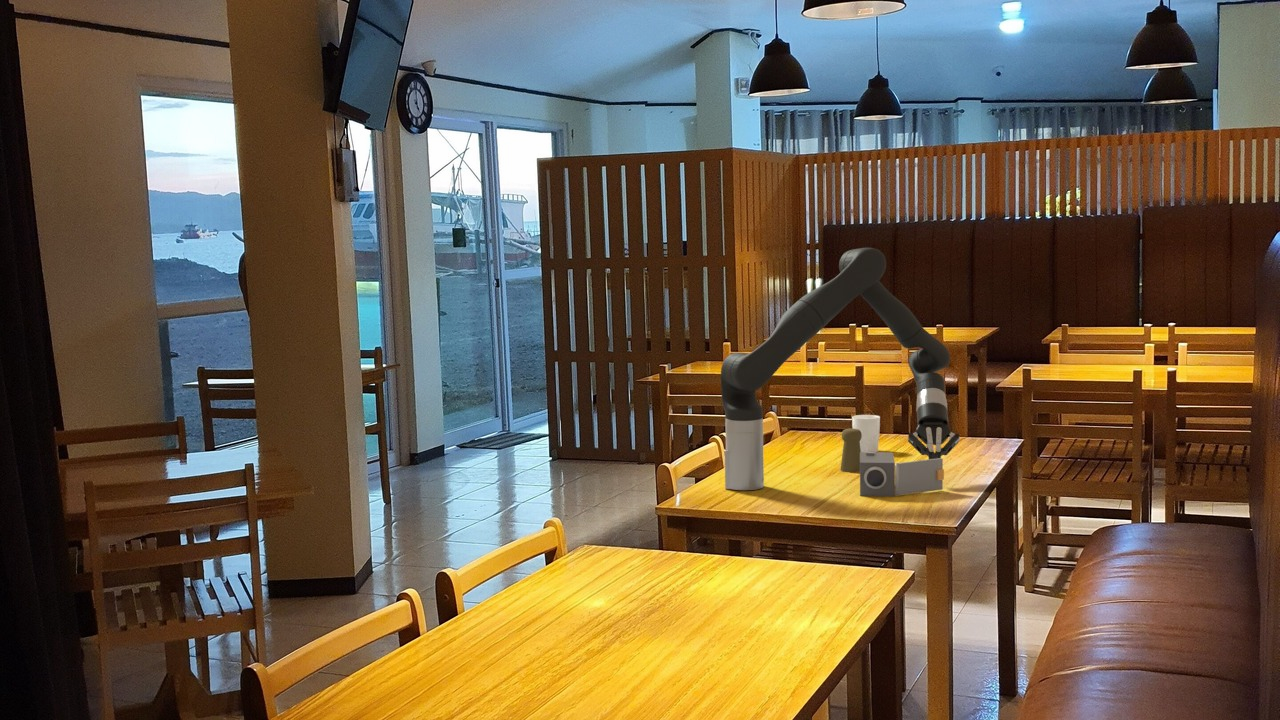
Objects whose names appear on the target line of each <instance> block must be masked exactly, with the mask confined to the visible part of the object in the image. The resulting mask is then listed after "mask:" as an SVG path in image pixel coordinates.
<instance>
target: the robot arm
mask: <svg viewBox="0 0 1280 720" xmlns="http://www.w3.org/2000/svg"><path fill="white" fill-rule="evenodd" d="M886 259H887V258H886V257H885V254H884V253H883V252H882V251H881V250H879V249H876V248H873V247H861V248H855V249H854V248H853V249H850V250H847V251H845V252H844V253H843V254H842V256H841V257H840V259H839V263H838V269H839V272H840V273H839V274H838V275H836V276H835V277H834V278H832V279H831V280H829V281H827V282H826V283H824V284H822V285H820V286H818V287H817V288H814V289H813V290H811V291H809V292H808V293H806V294H805V295H803V296H802V297H801V298H800V299H798V300H797V301H796V302H795V303H793V304H792V305H791V306H790V307H789V308H788V309H787V310H785V312H784V313H783V314H782V316H781V317H780V318H779V320H778V322H777V324H776V326H775V328H774V330H773V332H772V333H771V334H770V336H769V337H768V338H767V339H766V340H765V341H764V342H763V343H761V344H760V345H759V346H758V347H757V348H755V349H754V350H753V351H751V352H749V353H746V352H733V353H731V354H729V355H728V356H727V357H726V358H725V359H724V360H723V362H722V366H721V369H720V389H721V403H722V407H723V410H724V415H725V419H724V420H725V422H724V423H725V450H724V480H725V481H724V483H725V484H724V485H725V486H724V489H726V490H736V491H754V490H759V489H763V488H764V485H765V483H764V481H765V478H764V475H765V474H764V419H763V417H764V412H763V411H764V410H763V406H762V405H761V404H760V403H759V401H758V398H757V395H756V391H757V390H759V389H761V388H762V387H764V385H766V384H767V382H769V380H770V378H772V376H773V375H775V373H777V371H778V370H779V369H780V368H781V366H782V365H784V363H785V362H786V361H787V360H788V359H789V358H791V356H793V355H794V354H796V353H797V351H798V350H800V349H801V348H802V347H803V346H804V345H805V344H806V343H808V342H809V341H810V340H811V339H813V338H814V337H815V335H817V334H819V332H820V331H821V330H823V328H825V326H826V325H828V324H829V322H830V321H831V320H833V319H834V318H835V317H836V316H837V315H838V314H839V313H841V312H842V311H843V309H845V308H846V307H847V305H848V304H850V303H851V302H852V301H853V300H854V299H856V298H857V297H858V296H859V295H860V296H861V297H862V299H864V301H866V303H868V304H869V306H870V307H871V308H872V309H873V310H874V311H875V313H876V314H877V315H878V316H879V317H880V319H882V321H883V322H884V323H885V325H886V326H887V327H888V329H889V330H890V331H891V333H892V334H893V335H894V337H895V338H896V340H897V341H898V342H899V344H900V345H901V346H902V347H903V348H904V349H913V348H920V349H918V350H915V351H914V352H912V353H911V354H910V356H909V358H908V367H909V368H910V372H911V373H912V375H913V378H914V381H915V383H916V408H915V411H916V418H917V421H916V423H917V427H916V429H915V431H914V432H913V433H912V432H911V433H910V432H909V433H908V435H907V436H908V437H907V442H908V443H909V444H910V445H911V446H912V447H913V449H915V450H916V451H917V452H918V453H919V454H920V455H921V456H927V457H928V459H937V458H942V456H948V455H949V454H950V452H952V450H953V449H954V448H955V447H956V446H957V445H958V444H959V442H960V438H961V437H960V436H961V435H960V434H959V433H954V432H952V430H951V427H950V426H949V415H948V412H949V411H948V402H947V401H948V400H947V397H946V384H945V379H944V377H943V376H942V375H941V374H940V373H938V372H939V371H941V370H943V369H946V368H947V367H948V366H949V365H950V363H951V354H950V352H949V350H948V349H947V347H946V345H944V343H943V342H941V341H940V340H938V339H937V338H936V337H934V336H933V335H932V334H931V333H930V332H929V331H927V330H926V329H924V327H923V326H922V325H921V323H920V322H919V320H918V319H917V317H916V316H915V315H914V313H913V312H912V311H911V310H910V309H909V308H908V307H907V306H906V305H905V304H904V303H903V302H902V301H900V300H899V299H898V298H897V297H896V296H894V294H892V293H891V292H890V291H889V290H888V289H887V288H886V287H885V286H884V285H883V283H881V281H880V280H881V279H882V277H883V275H884V273H885V272H886V269H887V260H886ZM948 438H949V439H948ZM947 440H948V441H947ZM946 441H947V442H946ZM945 442H946V444H945V445H943V444H944V443H945ZM923 443H924V444H923ZM942 445H943V447H942ZM934 446H935V449H934Z"/></svg>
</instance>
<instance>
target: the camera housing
mask: <svg viewBox="0 0 1280 720" xmlns="http://www.w3.org/2000/svg"><path fill="white" fill-rule="evenodd" d="M859 494H860V495H859V496H860V497H896V495H895V456H894V453H893V452H888V451H887V452H885V451H884V452H880V451H878V452H860V472H859Z"/></svg>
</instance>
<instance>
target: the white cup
mask: <svg viewBox="0 0 1280 720" xmlns="http://www.w3.org/2000/svg"><path fill="white" fill-rule="evenodd" d="M851 421H852V423H851V425H852V428H853V429H858V430H860V431H861V434H862V438H861V440H860V449H861V452H879V443H880V442H879V441H880V427H881V416H880V415H875V414H857V415H852V416H851Z"/></svg>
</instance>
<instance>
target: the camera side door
mask: <svg viewBox="0 0 1280 720" xmlns="http://www.w3.org/2000/svg"><path fill="white" fill-rule="evenodd" d="M943 466H944V462H943V457H941V458H937V459H929V458H927V459H920V460H914V461H912V460H911V461H906V462H904V461H903V462H897V463H895V496H902V495H903V496H904V495H905V496H906V495H911V494H918V493H926V492H934V491H942V490H943V483H944V482H943V481H944V480H945V479H944V478H945V470H944V468H943Z"/></svg>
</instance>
